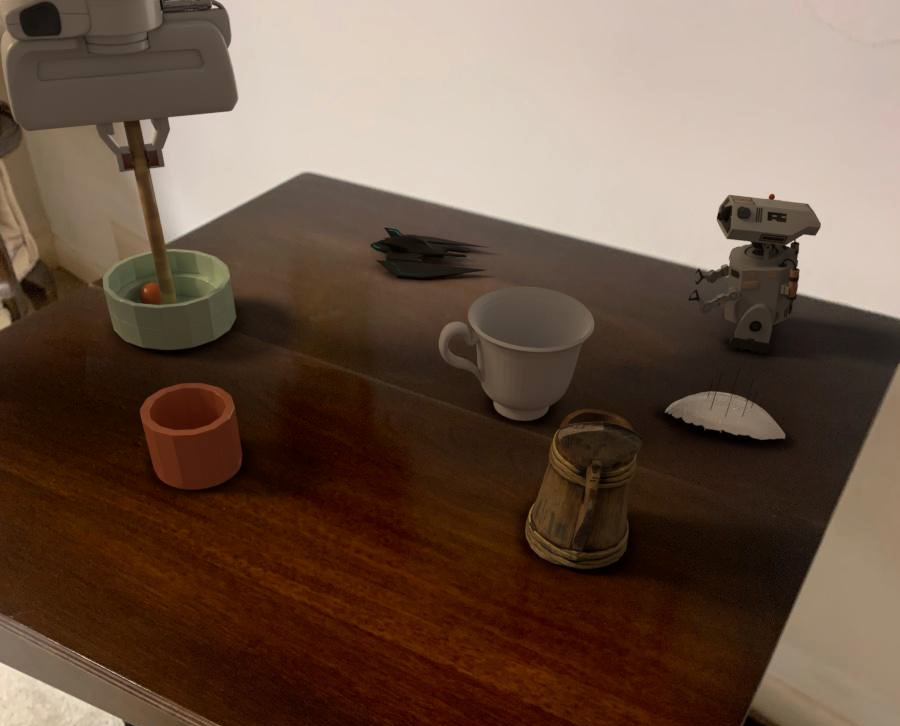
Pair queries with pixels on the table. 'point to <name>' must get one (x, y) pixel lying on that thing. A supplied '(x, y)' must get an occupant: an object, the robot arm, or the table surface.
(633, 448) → the wooden mug
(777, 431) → the pincushion
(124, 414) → the table surface
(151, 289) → the bead
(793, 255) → the figurine
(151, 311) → the bowl
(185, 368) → the table surface
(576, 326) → the teacup
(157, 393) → the holder
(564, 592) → the table surface
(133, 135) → the stirring stick
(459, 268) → the black starfighter
